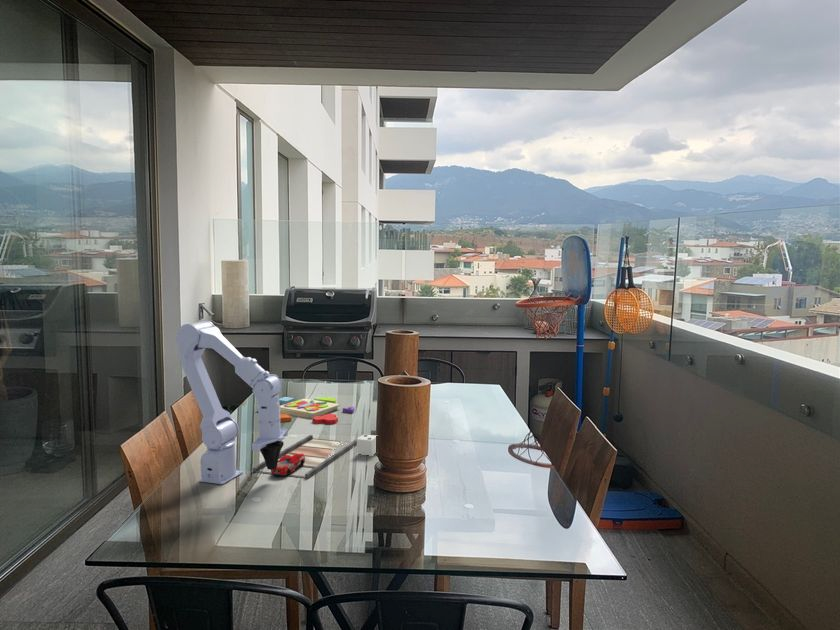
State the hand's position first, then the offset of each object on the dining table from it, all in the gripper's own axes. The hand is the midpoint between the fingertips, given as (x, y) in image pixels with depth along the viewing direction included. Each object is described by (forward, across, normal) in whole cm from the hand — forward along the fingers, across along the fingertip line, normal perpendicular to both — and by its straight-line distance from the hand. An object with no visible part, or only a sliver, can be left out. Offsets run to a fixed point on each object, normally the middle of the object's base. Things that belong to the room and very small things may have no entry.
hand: (272, 468), depth 171 cm
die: (+3, +28, -16) cm, 33 cm away
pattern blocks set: (+4, +68, +28) cm, 74 cm away
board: (+3, +20, 0) cm, 21 cm away
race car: (+3, +8, 0) cm, 9 cm away
